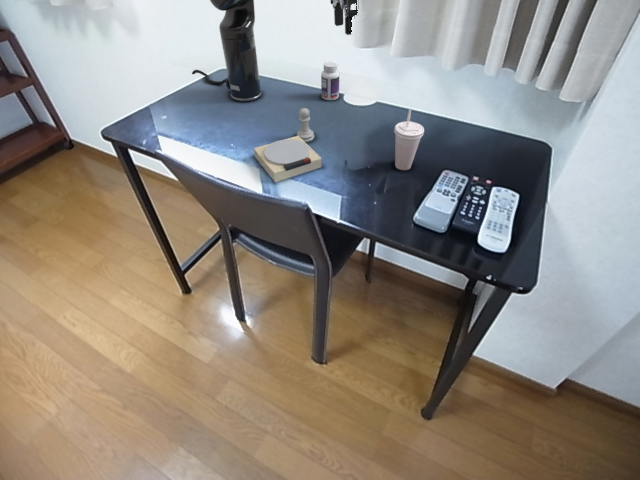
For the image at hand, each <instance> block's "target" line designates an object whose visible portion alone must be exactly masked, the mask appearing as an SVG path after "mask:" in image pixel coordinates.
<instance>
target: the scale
mask: <svg viewBox="0 0 640 480" xmlns="http://www.w3.org/2000/svg"><path fill="white" fill-rule="evenodd" d="M253 153H254V158H255V159H256V160H257V162H258V163H259V164H260V166H262V168H263V169H264V170H265V172H266V173H267V174H268V175H269V177H270V178H271V179H272V181H273V182H274V183H278V182H281V181H284V180H287V179H290V178H294V177H297V176H300V175H303V174H305V173H308V172H311V171H314V170H318V169H321V168H323V166H322V165H323V164H322V162H323V161H322V157H321V156H320V155H319V154H318V153H317V152H316V151H315V150H314V149H313V148H312V147H310V145H308V143H307V142H304V141H303V140H302V139H301V138H300V137H299V136H297V135H295V136H292V137H288V138H285V139H279V140H275V141H273V142H270V143H268V144H263V145H259V146H257V147H254V148H253Z"/></svg>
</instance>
